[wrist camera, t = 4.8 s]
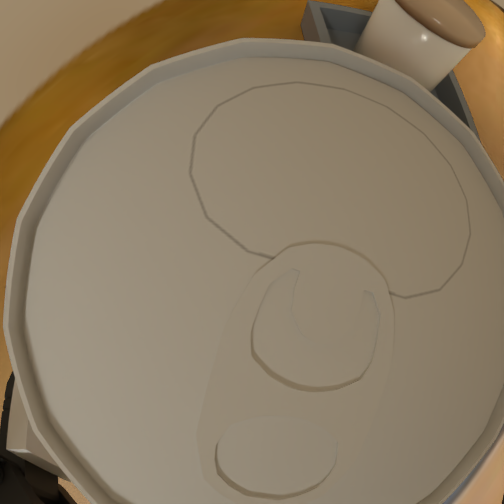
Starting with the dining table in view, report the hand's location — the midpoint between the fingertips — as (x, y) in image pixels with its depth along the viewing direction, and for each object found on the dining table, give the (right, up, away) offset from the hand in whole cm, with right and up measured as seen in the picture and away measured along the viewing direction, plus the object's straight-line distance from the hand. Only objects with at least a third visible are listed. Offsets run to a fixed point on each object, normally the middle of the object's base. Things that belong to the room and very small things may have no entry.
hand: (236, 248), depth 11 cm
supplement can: (0, -3, +7) cm, 7 cm away
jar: (+11, +14, +9) cm, 20 cm away
